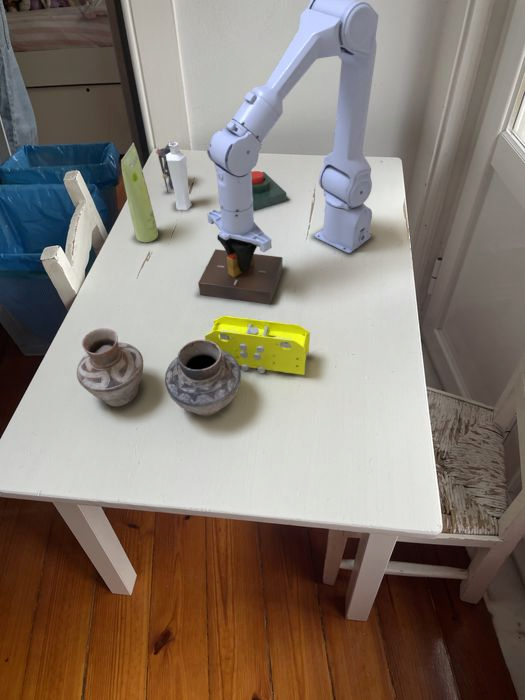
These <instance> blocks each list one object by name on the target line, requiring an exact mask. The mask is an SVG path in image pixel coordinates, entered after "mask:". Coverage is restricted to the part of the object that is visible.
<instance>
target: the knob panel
mask: <svg viewBox="0 0 525 700" xmlns="http://www.w3.org/2000/svg"><path fill="white" fill-rule="evenodd" d="M227 257H228V254H227V252H226V250H225V249H217V248H215V249H214V251H213V253H212V255H211V257H210V259H209V261H208V263H207V265H206V267H205V269H204V271H203V272H202V275H201V277H200V279H199V280H198V282H197V283H198V289H199V295H200V296H207V297H212V298H213V297H214V298H221V299H228V300H236V301H243V302H250V303H258V304H265V305H271V304H272V301H273V299H274V296H275V293H276V291H277V290H276V289H277V287H278V284H279V280H280V278H281V275H282V272H283V257H282V256H276V255H275V256H274V255H268V254H267V255H266V254H259V253H254V265H252V266H251V267H250V268H249V269H248V270H246V271H245V272H242V273H240V274H239V275H237V276H236V277H232V276H231V275H229V274H228V265H227Z"/></svg>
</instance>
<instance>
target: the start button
mask: <svg viewBox="0 0 525 700" xmlns="http://www.w3.org/2000/svg"><path fill="white" fill-rule="evenodd" d="M262 172H263V171H259V170H253V171H251V175H252V184H261V183H263V182H264V174H263V173H262Z"/></svg>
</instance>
